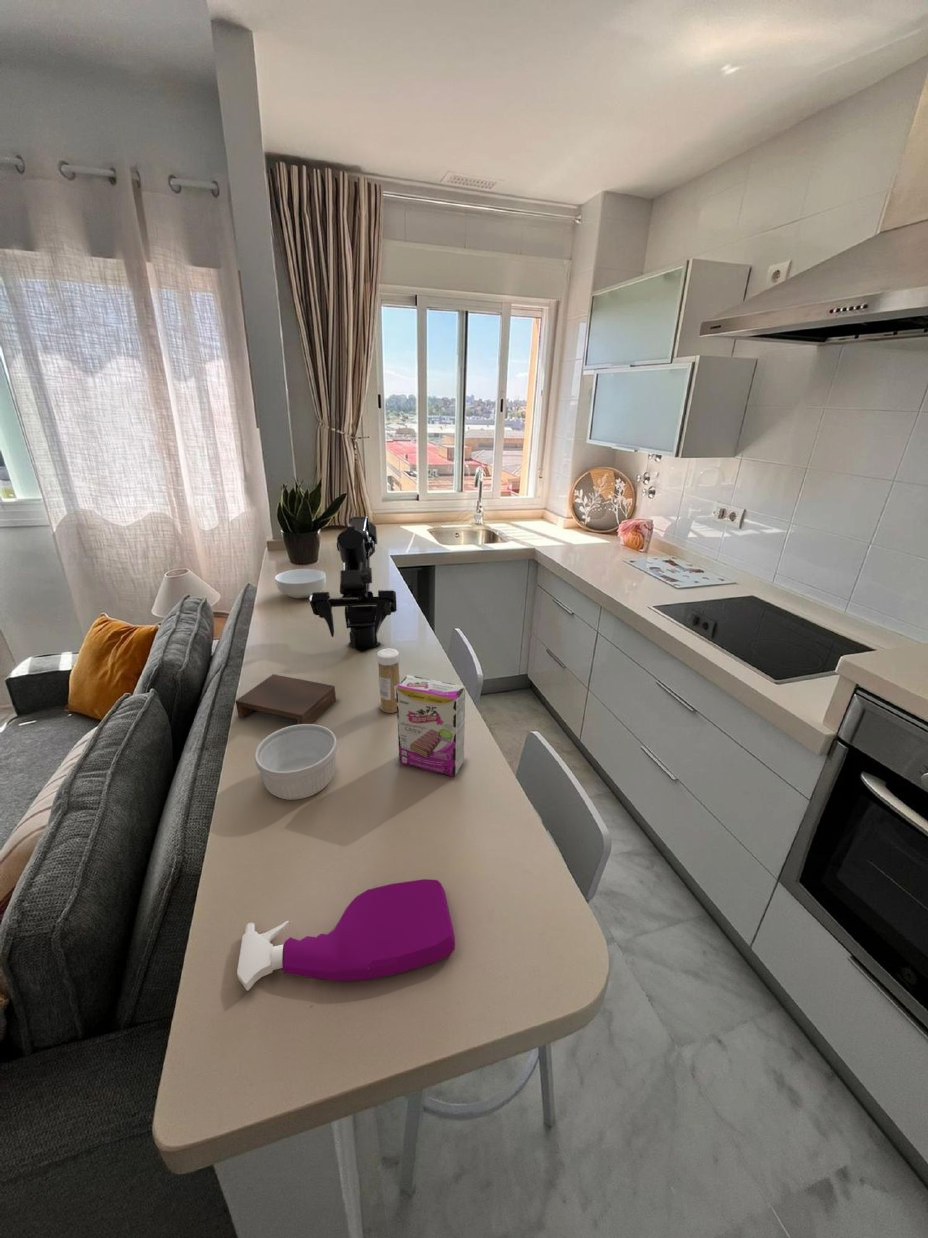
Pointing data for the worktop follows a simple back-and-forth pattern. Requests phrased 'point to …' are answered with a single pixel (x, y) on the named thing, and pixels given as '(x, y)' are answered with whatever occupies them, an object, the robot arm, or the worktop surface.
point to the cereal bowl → (300, 582)
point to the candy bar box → (431, 724)
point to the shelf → (288, 698)
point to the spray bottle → (361, 938)
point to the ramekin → (297, 760)
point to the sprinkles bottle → (388, 678)
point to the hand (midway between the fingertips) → (354, 635)
